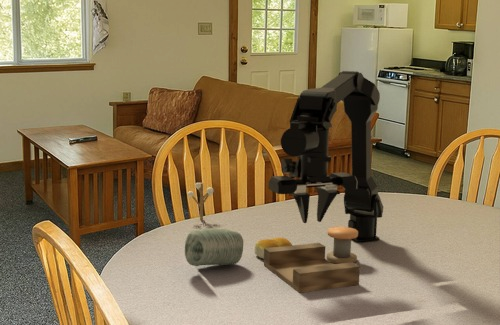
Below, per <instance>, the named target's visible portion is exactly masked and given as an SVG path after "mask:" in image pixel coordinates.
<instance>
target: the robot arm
mask: <svg viewBox="0 0 500 325" xmlns="http://www.w3.org/2000/svg"><path fill="white" fill-rule="evenodd" d="M380 96H381V95H380V91H379V90H378V87H377V85H376V83H374V82H373V81H371V80H369V79H368V78H366V77H365V76H364V75H363V73H362V72H359V71H357V70H356V71H355V70H354V71H353V70H350V71H349V70H342V71H340V72H339V73H338V75H337V76H335V77H333V79H331V80H330V81H328V82H327V83H325V84H324V85H323V86H321V87H318V88H317V87H315V88H308V89H305V90H302V92H300V93H299V95H298V97H297V99H296V102H295V105H294V107H293V111H292V114H291V116H290V119H289V128H288V129H286V130H285V131H284V132H282V135H281V137H280V146H281V149H282V151H283V152H284V153H285V154H286V155H287V156H289V157H291V158H289V157H288V158H282V159H281V164H280V168H281V173H282V174H283V175H274V176H271V177H270V179H269V180H268V188H267V189H268V190H270V191H272V192H274V193H275V194H277V195H292V197H293V198H294V200H295V203H296V205H297V207H298V212H299V214H300V218H301V220H302V223H304V224H307V222H308V218H309V208H310V195H311V194H310V193H308V192H307V189H308V188H316V189H315V190H316V193H317V205H316V206H317V207H316V209H317V210H316V221H317V222H318V223H321V222H322V220H323V219H324V217H325V216H326V213H327V211H328V209H329V207H330V206H331V204H333V203H332V202H333V201H334V200H335V198H336V197H337V195H340V194H341V191H339V190H338V187H339V186H341V187H342V188H343V190H344V195H343V206H344V214H345V215H349V219H348V221H347V222H348V223H347V227H349V228H353V229H356V230H357V231H358V237H357V238H354V239H353V240H354V241H355V242H360V243H361V242H368V241H370V242H371V241H378V240H380V237H379V236H377V226H378V218H380V219H381V218H383V213H384V205H383V202H382V199H381V197H380V195H379V188H378V184H377V182H375V180H374V179H373V177H372V119H373V117H374V116H375V114H376V113H377V111H378V108H379V107H378V106H379V103H380V98H381V97H380ZM341 101H342V103H343V110H344V114H345V115H346V117H347V118H348V119H349V121H350V127H351V128H350V130H351V132H350V133H351V141H350V142H351V143H350V144H351V174H350V173H348V172H345V171H343V172H331V173H329V175H328V166H329V162H330V163H331V162H332V156H330V155H329V139H330V129H331V128H332V126H333V124H332V123H331V121H332V119H333V117H334V115H335V114H336V112H337V108H338V104H339V103H340V102H341ZM292 157H293V158H294V157H297V159H296V160H294V161H293V158H292ZM286 174H289V176H288V175H286ZM295 178H296V179H295Z"/></svg>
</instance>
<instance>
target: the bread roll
mask: <svg viewBox="0 0 500 325" xmlns="http://www.w3.org/2000/svg"><path fill="white" fill-rule="evenodd" d="M292 245H293V244H292V242H291V241H290V240H289V239H288V238H285V237H274V238H273V237H272V238H270V239H269V238H263V239H260V240H259V241H257V243H256V244H255V246H254V254H255V255H256V256H257V257H259V258H261V259H263V260H264V248H273V247H283V246H292Z"/></svg>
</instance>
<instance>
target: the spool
mask: <svg viewBox="0 0 500 325" xmlns="http://www.w3.org/2000/svg"><path fill="white" fill-rule="evenodd" d="M185 238H186V239H185V243H184V257H185V259H186V262H187V263H188V264H189V265H190V266H194V267H199V266H200V267H201V266H216V265H218V266H223V265H224V266H225V265H228V266H229V265H235V264H236V265H237V264H238V263H239V262H240V261H241V260H242V256H243V252H244V238H243V236H242V235H241V233H240V232H239V231H236V230H234V229H230V228H220V227H219V228H218V227H216V228H215V227H213V228H212V227H211V228H202V229H194V230H191V231H190V232H189V233H188V234H187V236H186V237H185Z"/></svg>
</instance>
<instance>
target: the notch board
mask: <svg viewBox="0 0 500 325" xmlns="http://www.w3.org/2000/svg"><path fill="white" fill-rule="evenodd" d="M263 266H264V267H266V269H268V270H269V271H271V273H273V274H275V276H277V277H278V278H280V279H281V280H282V281H284V282H285V283H286V284H287V285H289V286H290V287H291V288H292V289H294V290H295V291H297V293H306V292H314V291H315V292H316V291H320V290H321V291H322V290H329V289H338V288H344V287H352V286H359V285H360V271H361V268H360V267H361V266H360V265H358V264H356V262H355V263H353V262H350V263H341V264H335V263H331V262H329V261H328V260H327V258H326V246H325V245H324V244H322V243H321V242H314V243H312V242H311V243H304V244H302V243H301V244H295V245H294V244H292V246H283V247H273V248H264V259H263Z"/></svg>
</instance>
